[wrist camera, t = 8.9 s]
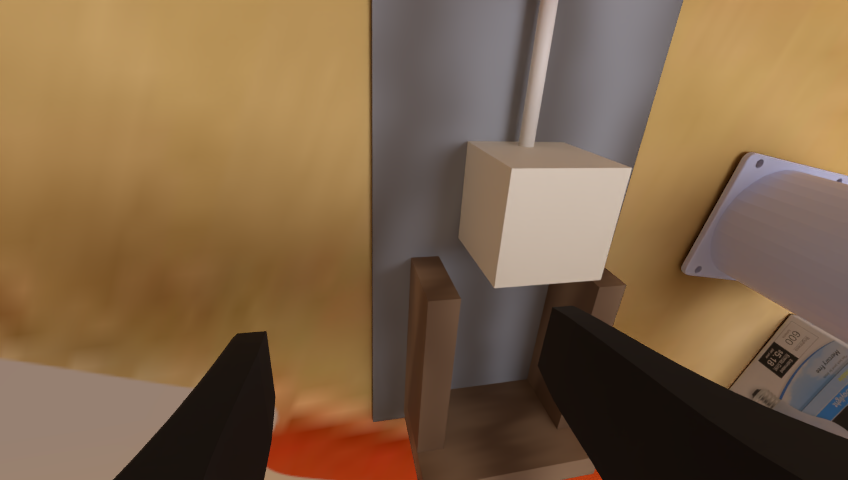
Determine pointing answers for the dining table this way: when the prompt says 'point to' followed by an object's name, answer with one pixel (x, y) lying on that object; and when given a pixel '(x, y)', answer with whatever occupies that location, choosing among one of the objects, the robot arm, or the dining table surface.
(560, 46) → the panel
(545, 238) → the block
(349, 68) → the dining table surface
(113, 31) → the dining table surface
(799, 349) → the light bulb box
